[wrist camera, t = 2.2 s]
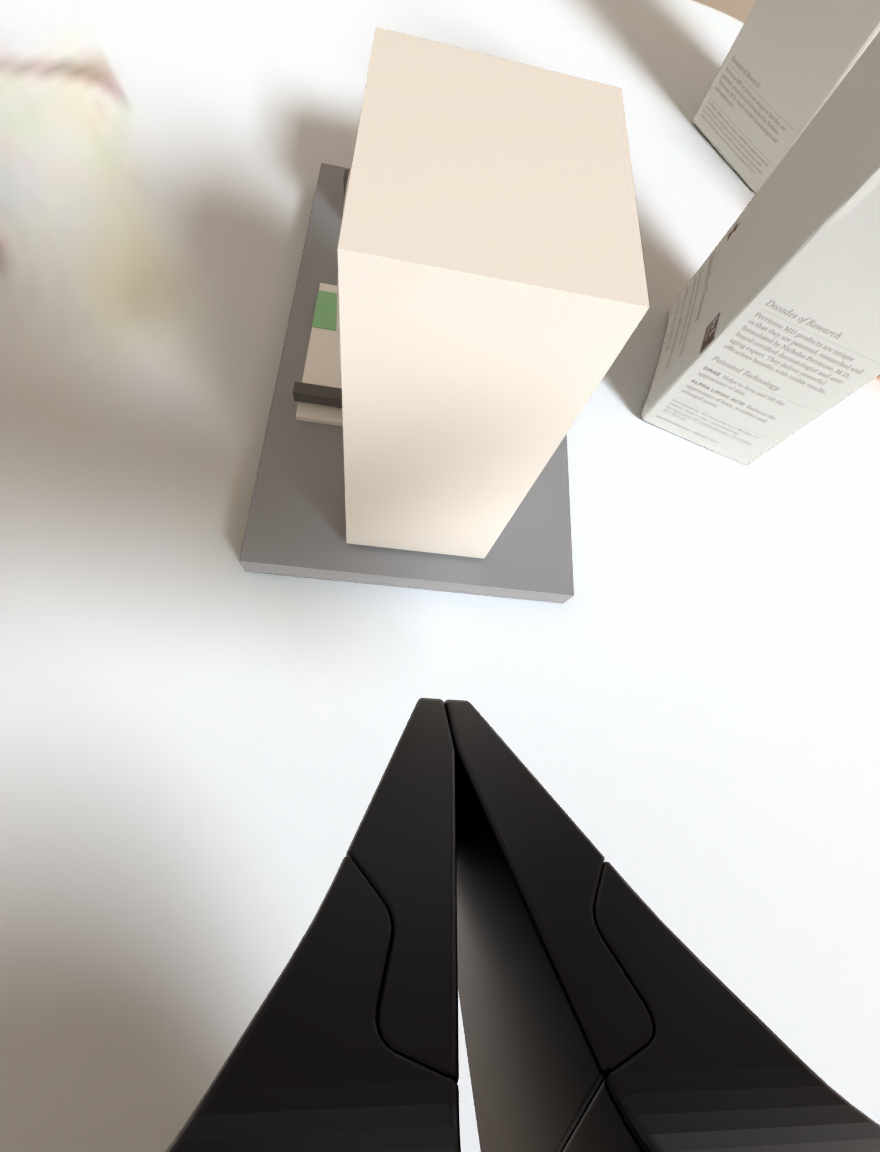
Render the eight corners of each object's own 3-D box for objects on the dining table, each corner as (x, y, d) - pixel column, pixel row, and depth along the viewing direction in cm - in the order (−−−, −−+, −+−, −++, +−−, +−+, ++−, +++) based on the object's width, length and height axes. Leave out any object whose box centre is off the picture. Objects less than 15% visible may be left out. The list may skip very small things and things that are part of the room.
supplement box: (754, 198, 31) (997, -139, 19) (687, 121, 33) (872, -231, 21) (831, 180, 33) (1091, -133, 22) (764, 109, 35) (971, -216, 23)
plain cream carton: (484, 558, 18) (649, 307, 8) (270, 534, 17) (151, 213, 7) (488, 356, 22) (609, -3, 11) (309, 326, 21) (266, -98, 10)
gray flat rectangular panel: (563, 603, 20) (576, 593, 18) (245, 571, 18) (237, 558, 17) (549, 231, 27) (558, 207, 26) (322, 185, 25) (321, 157, 24)
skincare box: (666, 309, 26) (1010, -183, 13) (770, 354, 26) (1223, -85, 13) (635, 429, 23) (1049, -53, 9) (753, 478, 23) (1332, 75, 10)
